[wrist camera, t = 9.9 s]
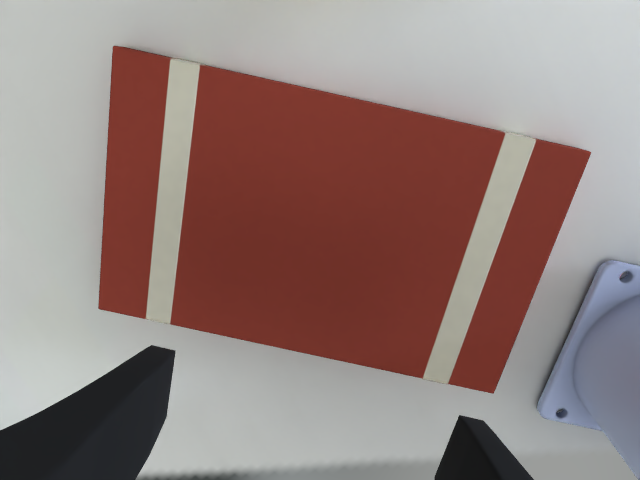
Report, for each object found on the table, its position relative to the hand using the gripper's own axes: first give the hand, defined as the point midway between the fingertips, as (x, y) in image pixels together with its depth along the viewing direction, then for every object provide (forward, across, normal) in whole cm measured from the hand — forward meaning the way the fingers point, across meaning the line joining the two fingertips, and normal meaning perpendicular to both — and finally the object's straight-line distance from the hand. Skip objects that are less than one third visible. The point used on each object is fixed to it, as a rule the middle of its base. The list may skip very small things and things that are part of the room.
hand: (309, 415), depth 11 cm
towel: (+9, 0, -2) cm, 10 cm away
